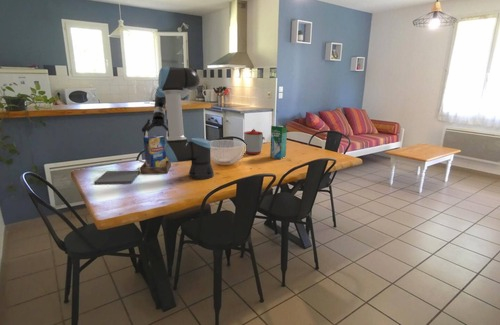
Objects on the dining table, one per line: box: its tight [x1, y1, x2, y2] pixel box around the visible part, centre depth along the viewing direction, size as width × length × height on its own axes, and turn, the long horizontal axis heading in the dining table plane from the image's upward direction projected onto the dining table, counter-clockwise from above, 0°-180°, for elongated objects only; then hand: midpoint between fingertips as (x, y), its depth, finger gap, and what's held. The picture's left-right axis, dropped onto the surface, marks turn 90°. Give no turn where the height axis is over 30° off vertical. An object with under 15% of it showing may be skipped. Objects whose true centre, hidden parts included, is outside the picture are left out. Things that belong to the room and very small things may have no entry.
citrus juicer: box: [243, 128, 266, 155], centre depth 240 cm, size 16×17×20 cm
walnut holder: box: [139, 160, 172, 175], centre depth 194 cm, size 16×16×4 cm
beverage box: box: [143, 134, 167, 167], centre depth 192 cm, size 7×11×22 cm, turn 138°
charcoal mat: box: [93, 170, 141, 185], centre depth 177 cm, size 20×20×2 cm
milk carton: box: [269, 125, 288, 160], centre depth 227 cm, size 9×9×25 cm
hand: (156, 140), depth 197 cm, fingers open, 13 cm apart
